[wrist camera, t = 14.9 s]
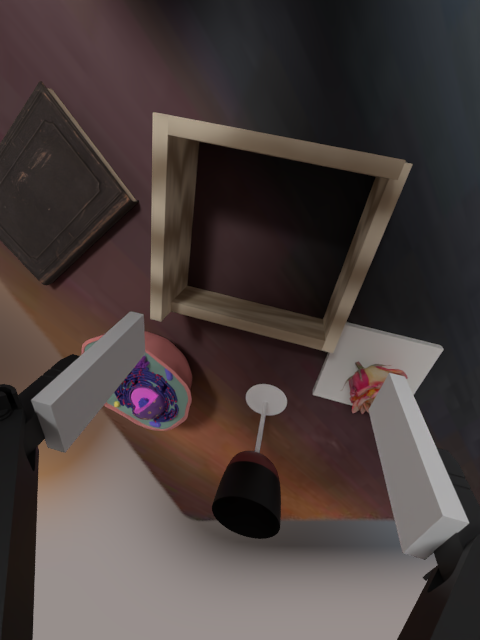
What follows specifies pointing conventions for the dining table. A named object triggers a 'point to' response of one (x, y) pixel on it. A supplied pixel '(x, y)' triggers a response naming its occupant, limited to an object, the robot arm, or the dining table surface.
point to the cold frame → (177, 218)
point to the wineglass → (252, 478)
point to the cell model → (154, 386)
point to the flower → (368, 385)
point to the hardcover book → (54, 188)
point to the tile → (373, 359)
